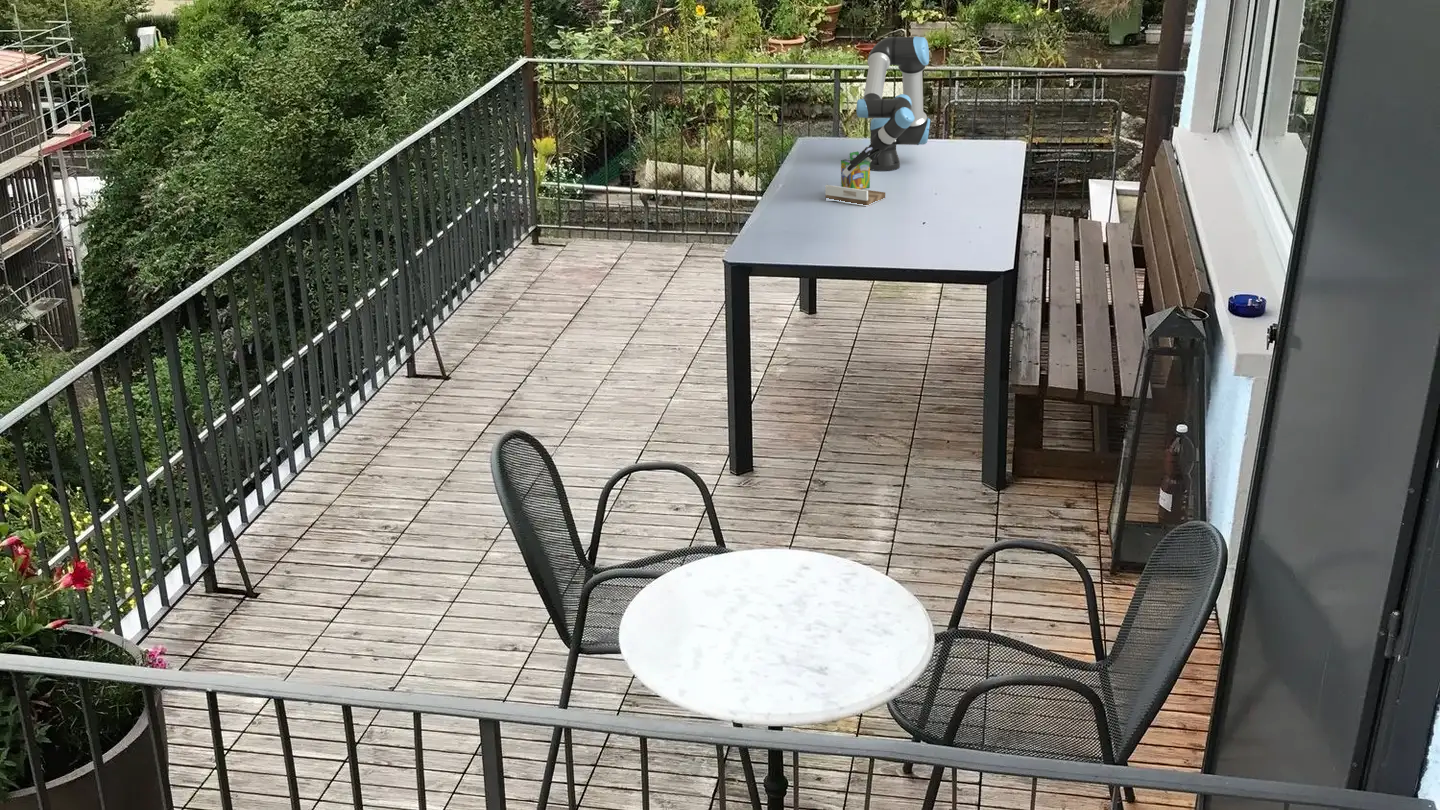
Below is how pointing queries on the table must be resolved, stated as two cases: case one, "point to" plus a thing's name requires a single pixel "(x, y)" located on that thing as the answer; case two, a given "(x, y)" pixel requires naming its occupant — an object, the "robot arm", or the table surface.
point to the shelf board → (853, 194)
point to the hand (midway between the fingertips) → (852, 171)
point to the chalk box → (856, 174)
